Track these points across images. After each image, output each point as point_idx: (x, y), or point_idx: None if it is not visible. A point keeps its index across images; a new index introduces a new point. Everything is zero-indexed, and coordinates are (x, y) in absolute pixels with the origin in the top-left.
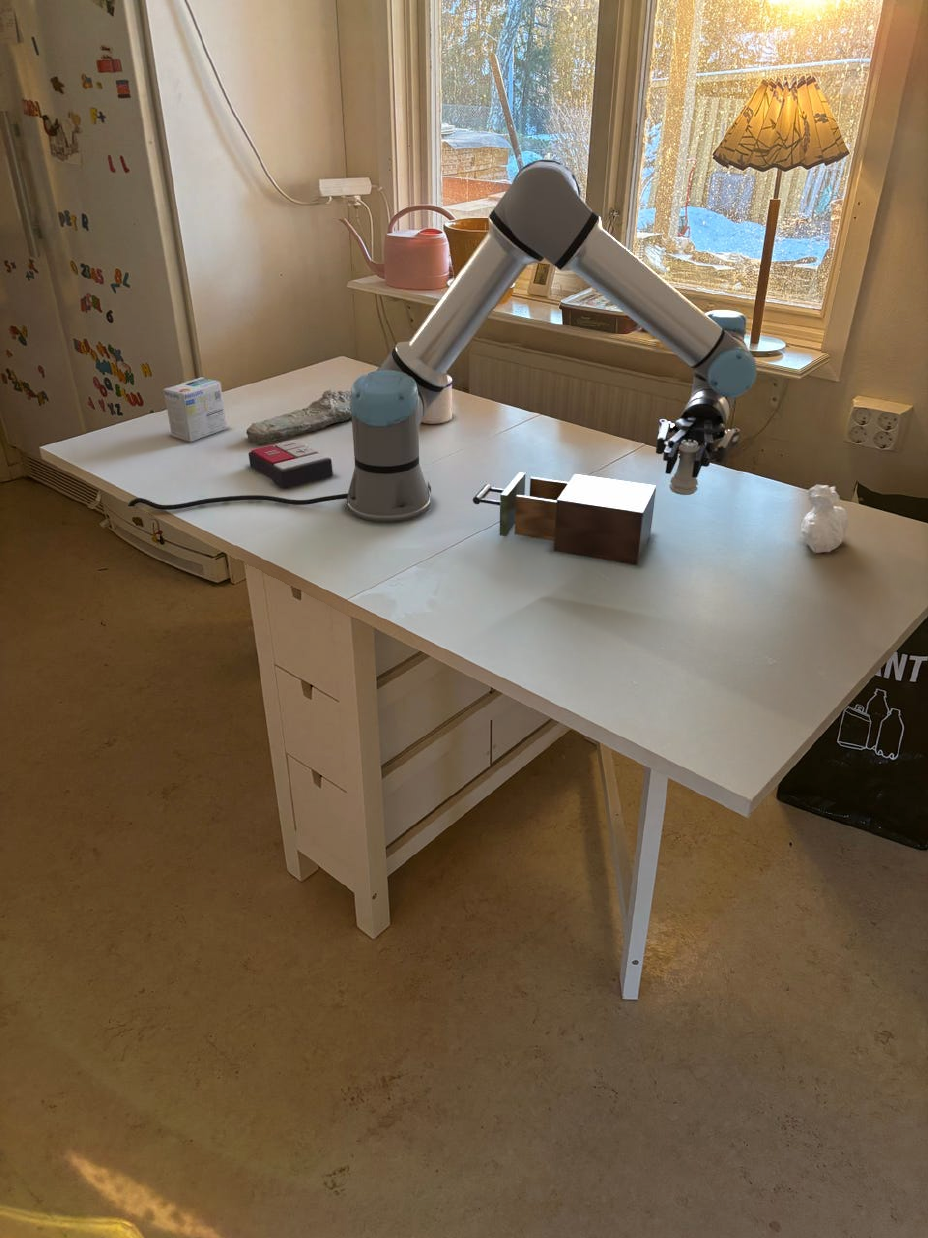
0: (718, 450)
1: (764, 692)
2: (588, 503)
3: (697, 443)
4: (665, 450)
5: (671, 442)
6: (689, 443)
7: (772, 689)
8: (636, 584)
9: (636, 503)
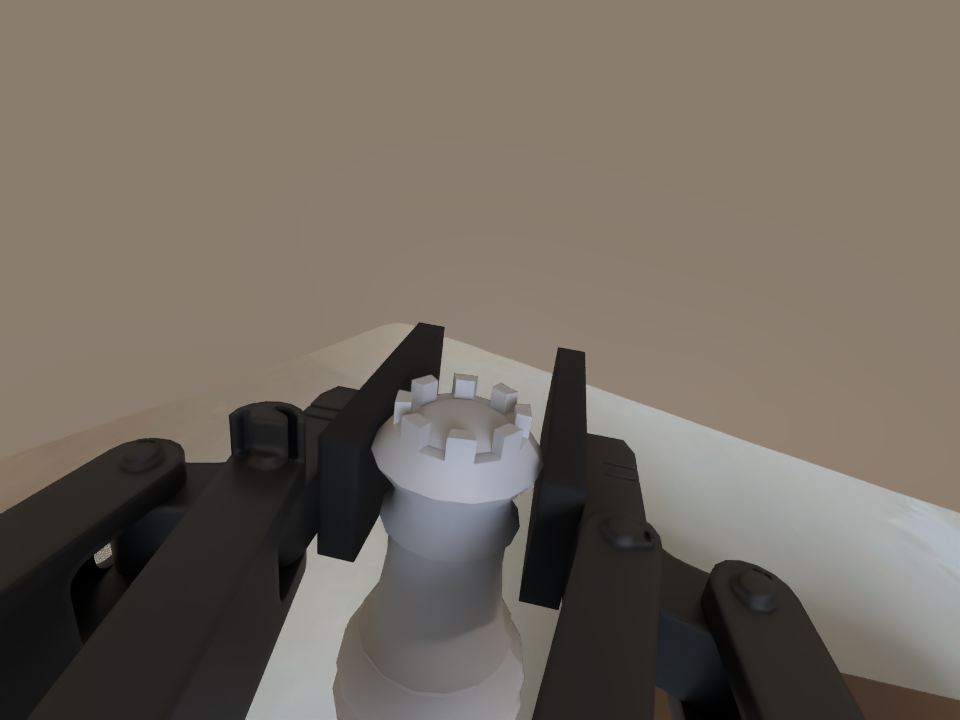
0: (189, 468)
1: (332, 388)
2: (880, 690)
3: (401, 393)
4: (626, 458)
5: (618, 510)
6: (461, 428)
7: (318, 391)
8: (537, 644)
9: (666, 716)
